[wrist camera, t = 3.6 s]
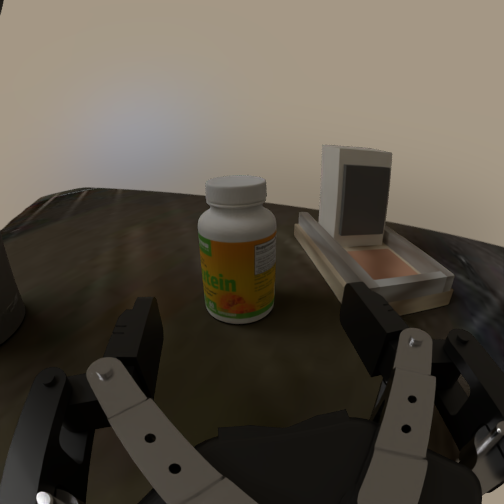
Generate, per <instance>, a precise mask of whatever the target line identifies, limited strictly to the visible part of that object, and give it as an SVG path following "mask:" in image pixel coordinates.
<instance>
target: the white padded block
mask: <svg viewBox="0 0 504 504" xmlns="http://www.w3.org/2000/svg"><path fill="white" fill-rule="evenodd" d="M391 163H392V153H390V152H386V151H381V150H375V149H371V148H362V147H350V146H335V145H322V168H321V190H320V191H321V192H320V209H319V224H320V225H321V226H322V227H323V228H324V229H325V230H326V231H327V232H328V233H329V234H330V235H331V236H332V237H333V238H334V239H335V240H336V241H337V242H338V243H339V244H340V245H341V246H342V247H354V246H370V245H382V241H383V234H384V228H385V221H386V213H387V205H388V196H389V187H390V175H391Z"/></svg>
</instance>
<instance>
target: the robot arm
mask: <svg viewBox="0 0 504 504" xmlns="http://www.w3.org/2000/svg"><path fill="white" fill-rule="evenodd" d="M3 1H4V0H0V14H1V10H2V6H3ZM24 316H25V306H24V303H23V300H22V298H21V295H20V293H19V290H18V287H17V285H16V282H15V279H14V276H13V273H12V270H11V267H10V264H9V260H8V257H7V254H6V250H5V247H4V243H3V240H2V236H1V232H0V344H2V343H3V342H4V341H6V340H7V339H8V338H9V337H10V336H11V335H12V334H13V333H14V332H15V331H16V330H17V329H18V327H19V326H20V324H21V323H22V321H23V319H24ZM340 322H341V325H342V327H343V329H344V330H345V332H346V334H347V336H348V337H349V339H350V341H351V342H352V344H353V346H354V348H355V349H356V351H357V353H358V355H359V356H360V358H361V360H362V362H363V364H364V365H365V367H366V369H367V371H368V372H369V374H370V376H371V377H374V376H378V375H382V377H383V379H382V382H381V384H380V388H379V391H378V395H377V398H376V401H375V405H374V408H373V411H372V414H371V417H370V419H369V420H367V419H362V418H354V417H349V416H348V414H347V411H346V409H345V410H340V411H336V412H332V413H327V414H322V415H317V416H315V417H312V418H310V419H308V420H305V421H303V422H300V423H298V424H295V425H293V426H290V427H287V428H276V427H264V426H253V425H248V426H236V427H221V428H218V436H217V437H214V438H211V439H208V440H206V441H204V442H202V443H200V444H198V445H196V446H195V447H193V446H192V445H191V444H190V443H189V442H188V441H187V440H186V439H185V438H184V437H183V436H182V434H181V433H180V432H179V431H178V430H177V429H176V428H175V426H174V425H173V424H172V423H171V422H170V421H169V420H168V418H167V417H166V416H165V415H164V414H163V412H162V411H161V410H160V409H159V407H158V406H157V405H156V404H155V402H154V394H155V387H156V380H157V374H158V368H159V362H160V356H161V350H162V345H163V326H162V322H161V318H160V313H159V309H158V304H157V300H156V298H155V297H138V298H137V299H136V302H135V304H134V307H133V309H130V310H125V311H124V312H123V313H122V314H121V315H120V316H119V318H118V320H117V323H116V325H115V327H114V330H113V334H112V335H111V338H110V340H109V343H108V345H107V348H106V351H105V353H104V356H103V358H101V359H98V360H96V361H95V362H93V363H92V364H91V365H90V366H89V368H88V369H87V373H84V374H80V375H74V376H69V377H67V376H66V374H65V373H64V371H63V370H62V369H60V368H57V367H50V368H46V369H44V370H42V371H41V372H40V373H39V374H38V375H37V376H36V378H35V380H34V382H33V384H32V387H31V389H30V392H29V394H28V397H27V399H26V402H25V404H24V407H23V410H22V413H21V415H20V418H19V421H18V424H17V427H16V430H15V433H14V436H13V439H12V443H11V446H10V449H9V453H8V457H7V460H6V464H5V468H4V472H3V477H2V481H1V486H0V504H86V493H87V483H88V474H89V466H90V458H91V451H92V445H93V439H94V433H95V429H99V428H104V427H110V426H112V428H113V430H114V431H115V433H116V435H117V436H118V438H119V439H120V441H121V443H122V444H123V446H124V447H125V449H126V450H127V452H128V453H129V455H130V456H131V458H132V459H133V461H134V462H135V463H136V465H137V466H138V468H139V469H140V470H141V472H142V473H143V475H144V476H145V477H146V479H147V480H148V481H149V483H150V484H151V485H152V486H153V489H152V490H151V491H150V492H149V493H148V494H147V495H146V496H145V497H144V498H143V499H142V500H141V501H140V502H139V503H138V504H482V503H481V502H482V495H483V494H485V493H490V492H492V491H494V490H495V489H496V488H498V487H500V486H501V485H502V484H503V483H504V373H503V372H502V371H501V369H500V368H499V367H498V365H497V364H496V363H495V362H494V360H493V359H492V358H491V357H490V355H489V354H488V353H487V352H486V351H485V349H484V348H483V347H482V346H481V345H480V343H479V342H478V341H477V340H476V339H475V338H474V336H473V335H472V334H470V333H469V332H468V331H465V330H463V329H453V330H451V331H450V332H449V334H448V336H447V338H446V340H432V339H431V337H430V336H429V335H428V334H427V333H426V332H425V331H423V330H420V329H417V328H409V327H408V325H407V324H406V323H405V322H404V321H403V319H402V318H401V317H400V316H399V315H398V313H397V312H396V311H394V309H393V308H392V306H391V305H389V303H388V302H387V301H386V299H385V298H384V297H383V296H381V295H380V294H378V293H376V292H375V291H371V290H370V289H369V288H368V286H367V285H366V284H365V283H364V282H353V283H347V284H346V285H345V287H344V292H343V298H342V304H341V309H340ZM460 374H462V375H463V377H464V378H465V380H466V381H467V383H468V384H469V386H470V396H469V398H468V396H467V395H466V393H465V391H464V390H463V388H462V387H461V385H460V384H459V382H458V381H457V379H458V378H459V376H460ZM434 404H435V405H436V407H437V409H438V411H439V413H440V414H441V416H442V418H443V420H444V422H445V424H446V425H447V427H448V429H449V431H450V433H451V435H452V437H453V439H454V441H455V443H456V445H457V447H458V449H459V451H460V454H459V460H460V462H459V463H457V462H455V461H453V460H451V459H448V458H446V457H444V456H442V455H440V454H438V453H435V452H433V451H431V450H429V449H427V446H428V441H429V435H430V429H431V422H432V415H433V407H434Z"/></svg>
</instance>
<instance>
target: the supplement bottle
mask: <svg viewBox="0 0 504 504" xmlns="http://www.w3.org/2000/svg"><path fill="white" fill-rule="evenodd" d="M266 196H267V193H266V180H265V179H263V178H261V177H256V176H244V175H243V176H242V175H239V176H238V175H237V176H223V177H217V178H213V179H210V180H208V181H206V199H207V204H209V205H210V209H209V210H207V211H205V212H204V213H203V214H202V215H201V217H200V218H199V221H198V234H199V246H200V256H201V267H202V277H203V287H204V297H205V304H206V308H207V310H208V312H209V313H210V314H211V315H212V316H213V317H214V318H216V319H218V320H220V321H223V322H227V323H232V324H245V323H251V322H255V321H258V320H260V319H262V318H263V317H265V316H266V315H267V314H268V313H269V312H270V311H271V310H272V308H273V305H274V296H275V264H276V219H275V216H274V215H273V213H272V212H271V211H270V210H268V209H266V208H264V207H263V206H262V204H263V203H264V202H265V201H266Z"/></svg>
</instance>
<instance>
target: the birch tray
mask: <svg viewBox="0 0 504 504" xmlns="http://www.w3.org/2000/svg"><path fill="white" fill-rule="evenodd" d="M294 236H295V237H296V239H297V240H298V241H299V243H300V244H301V246H302V247H303V248H304V250H305V251H306V253H307V254H308V256H309V257H310V259H311V260H312V261H313V263H314V264H315V266H316V267H317V269H318V270H319V272H320V273H321V275H322V276H323V277H324V279H325V280H326V282H327V283H328V285H329V286H330V288H331V289H332V291H333V292H334V294H335V295H336V297H337V298H338V300H339V301H340V303H341V304H342V298H343V292H344V287H345V285H346V284H347V283H353V282H364V283H365V284H366V285H367V286H368V288H369V289H370V290H371V291H375V292H376V293H378V294H380V295H381V296H383V297H384V298H385V299H386V301H387V302H388V303H389V305H391V306H392V308H393V309H394V311H396V312H397V313H398V315H399V316H401V315H405V314H410V313H415V312H419V311H424V310H428V309H432V308H436V307H440V306H444V305H448V304H449V302H450V299H451V296H452V293H453V289H452V288H451V286H452V283H453V279H454V276H455V275H454V274H452V273H451V272H450V271H449V270H447V269H446V268H445V267H443V266H442V265H441V264H439V263H438V262H437V261H435V260H434V259H433V258H431V257H430V256H429V255H427V254H426V253H425V252H423V251H422V250H421V249H419V248H418V247H416V246H415V245H414V244H412V243H411V242H409V241H408V240H407V239H405V238H404V237H402V236H401V235H399V234H398V233H396V232H395V231H393V230H392V229H391V228H389V227H388V226H386V225H385V228H384V234H383V241H382V245H370V246H354V247H342V246H341V245H340V244H339V243H338V242H337V241H336V240H335V239H334V238H333V237H332V236H331V235H330V234H329V233H328V232H327V231H326V230H325V229H324V228H323V227H322V226H321V225H320V224H319V223H318V222H317V221H316V220H315V219H314V218H313V217H312V216H311V215H309V214H308V213H307V212H299V224H295V231H294Z"/></svg>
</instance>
